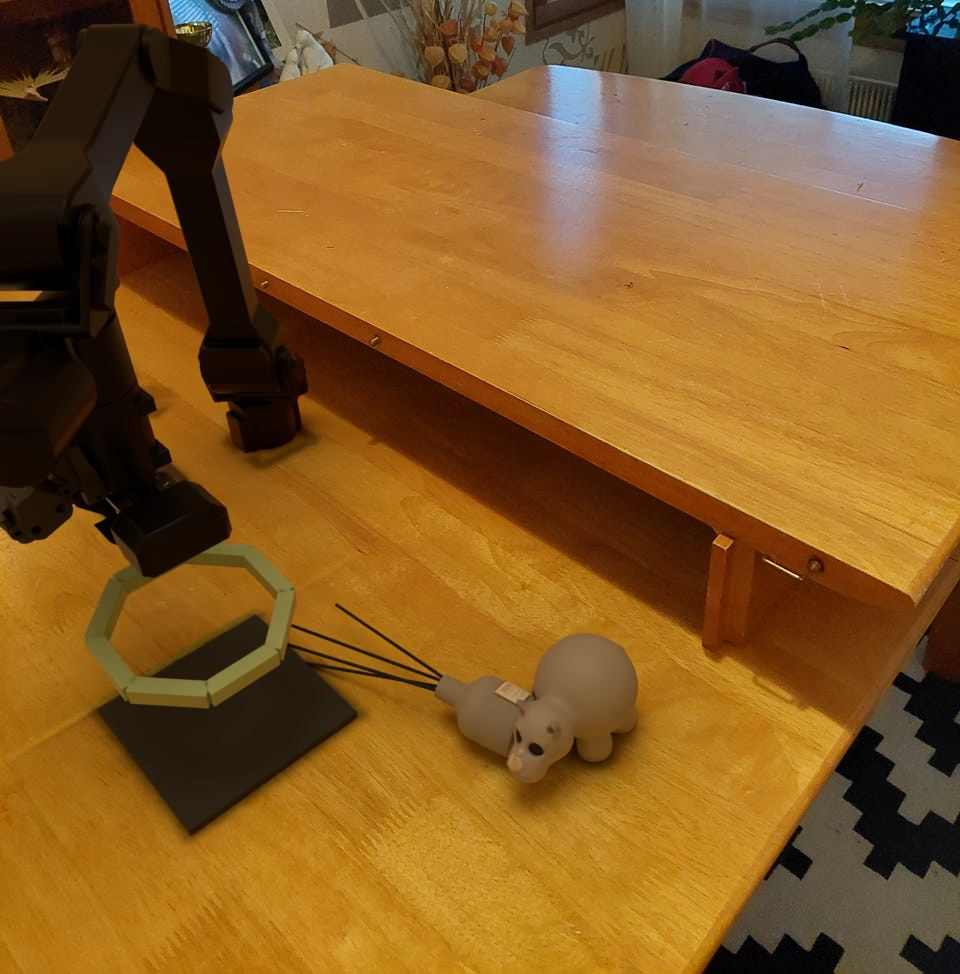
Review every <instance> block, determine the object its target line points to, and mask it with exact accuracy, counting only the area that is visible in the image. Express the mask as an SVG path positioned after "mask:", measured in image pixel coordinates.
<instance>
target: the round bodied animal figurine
mask: <svg viewBox="0 0 960 974" xmlns="http://www.w3.org/2000/svg"><path fill="white" fill-rule="evenodd" d="M533 680H534V681H533V683H534V691H535V696H536V700H534V701H531V702H529V703H526V702H525V701H523V700H520V699H519V700H517V701H516V704H517V707H518V713H517V715H516V716H515V719H514V722H513V733H514V744H513V747H512V749H511V751H510V753H509V756H508V758H507V760H506V767H508V769H509V771H510V773H511V775H512V776H513V778H514V779H516V780H517V781H519V782H522V783H524V784H533V783H536V782H539V781H540V780H541V779H543V778H544V776H545V775H546V773H547V771H548V769H549V767H550V766H551V765H552V764H554V763H555V762H557V761H559V760H560V759H562V758H564V757H565V756H566V755H567V754H568V753H569V752H570V751H571V749H572V747H573V745H574V741H575V748H576V750H577V753H578V754H579V756H580V757H581V758H582V759H583V760H585V761H587V762H592V763H598V762H601V761H604V760H607V759H608V758H609V756H610V755H611V753H612V750H613V737H612V733H614V734H626V733H628V732H630V731H632V730H633V729H634V727H635V726H636V723H637V722H638V721H637V720H638V712H637V707H636V704H637V703H636V702H637V699H638V695H639V694H638V693H639V682H638V675H637V671H636V668H635V666H634V663H633V662H632V660H631V658H630V656H629V655H628V654H627V652H626V650H625V648H624V646H622V645H620V644H618V643H616V642H615V641H613V640H612V639H610V638H607V637H606V636H604V635H601V634H596V633H590V632H589V633H588V632H580V633H574V634H570V635H566V636H565V637H562V638H561V639H559V640H557V641H556V642H554V643H553V644H552V645H550V646H549V647H548V648H547V649H546V651H545V652H544V653H543V654H542V656H541V658H540V660H539V661H538V664H537V667H536V670H535V672H534V678H533Z"/></svg>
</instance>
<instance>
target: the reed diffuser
mask: <svg viewBox="0 0 960 974" xmlns="http://www.w3.org/2000/svg"><path fill="white" fill-rule="evenodd" d="M334 607H335V608H337V609H339V610H340V611H342V612H343V613H344V614H346V615H347V616H349V617H351V618H352V619H353V620H354V621H356V622H357V623H359V624H361V625H363V627H365V628H366V629H368V630H370V631H371V632H373V633H374V634H375V635H377V636H378V637H380V638H381V639H383V640H384V641H386V642H387V643H388V644H390V645H392V646H393V647H395V648H396V649H397V650H399V651H400V652H402V653H403V654H405V655H406V656H408V657H409V658H410V659H412V660H413V661H414V662H415V663H418V664H419V665H421V666H422V667H424V668H425V669H427V670H428V671H430V672H431V673H432V674H434V675H432V674H430V673H427V672H424V671H422V670H419V669H416V668H413V667H411V666H408V665H406V664H402V663H400V662H398V661H394V660H392V659H389V658H386V657H384V656H382V655H378V654H376V653H374V652H373V653H372V652H370V651H367V650H364V649H362V648H359V647H356V646H355V645H351V644H349V643H347V642H344V641H341V640H338V639H334V638H332V637H330V636H326V635H323V634H321V633H318V632H316V631H313V630H311V629H307V628H305V627H303V626H299V625H297V624H294V623H292V625H291V629H295V630H298V631H301V632H303V633H306V634H308V635H312V636H314V637H317V638H319V639H322V640H325V641H328V642H330V643H334V644H335V645H338V646H341V647H345V648H346V649H349V650H352V651H354V652H358V653H360V654H362V655H366V656H367V657H371V658H374V659H377V660H379V661H382V662H385V663H386V664H390V665H392V666H396V667H398V668H401V669H404V670H406V671H408V672H411V673H414V674H417V675H419V676H422V677H425V678H427V679H429V680H433V681H436V682H438V683H431V682H426V681H419V680H413V679H409V678H403V677H400V676H397V675H394V674H391V673H387V672H384V671H381V670H378V669H374V668H371V667H368V666H366V665H365V666H364V665H361V664H358V663H355V662H352V661H349V660H345V659H342V658H339V657H336V656H332V655H329V654H326V653H323V652H319V651H316V650H313V649H310V648H306V647H303V646H300V645H296V644H293V643H289V642H288V643H287V647H290V648H291V649H293V650H297V651H299V652H300V651H301V652H303V653H307V654H309V655H310V654H311V655H312V656H313V655H314V656H317V657H320V658H323V659H326V660H330V661H333V662H336V663H340V664H342V665H345V666H349V667H352V668H356V669H351V668H347V667H340V666H334V665H328V664H323V663H318V662H313V661H312V662H311V661H305V662H306V663H307V664H308V665H309V666H310V667H316V668H322V669H328V670H333V671H338V672H344V673H348V674H349V673H350V674H354V675H360V676H365V677H371V678H378V679H384V680H389V681H394V682H401V683H405V684H408V685H410V686H411V685H412V686H415V687H417V688H421V689H424V690H427V691H431V692H434V695H433V696H434V698H436V699H437V700H439V701H441V702H443V703H445V704H447V705H448V706H450V707H452V708H453V709H454V710H455V715H456V722H457V726H458V729H459V731H460V733H461V734H462V735H463V736H465V737H466V738H467V739H468V740H470V741H473V742H474V743H476V744H478V745H480V746H482V747H484V748H486V749H488V750H490V751H492V752H495V753H497V754H499V755H501V756H503V757H505V758H507V759H508V756H509V753H510V751H511V749H512V747H513V744H514V733H513V722H514V719H515V716H516V715H517V713H518V707H517V704H516V701H517V700H519V699H520V700H523V701H525V702H526V703H529V702H531V701H534V700H536V696H535V691H534V682H533V684H532V687H531V692H529V691H527V690H525V689H524V688H521V687H520V686H518V685H516V684H514V683H512V682H510V681H508V680H507V679H505V680H504V679H502V678H500V677H498V676H494V675H484V676H481V677H479V678H477V679H474V680H473V681H471V682H469V683H465V682H464V681H461V680H459V679H457V678H455V677H453V676H451V675H449V674H446V673H445V674H442V673H441V672H439V671H437V670H436V669H435V668H433V667H432V666H430V665H428V664H427V663H426V662H425V661H422V660H421V659H420V658H418V657H417V656H416V655H414V654H412V653H411V652H409V651H408V650H406V649H405V648H404V647H402V646H400V644H398V643H397V642H395V641H393V640H392V639H391V638H389V637H388V636H386V635H384V634H383V633H382V632H380V631H379V630H377V629H376V628H374V627H372V626H371V625H370V624H368V623H367V622H365V621H364V620H362V619H361V618H359V617H358V616H356V615H355V614H354V613H352V612H351V611H350V610H348V609H346V608H345V607H343V606H342V605H340V604H338V602H336V603H335V604H334ZM357 669H360V670H357ZM435 675H436V676H435Z"/></svg>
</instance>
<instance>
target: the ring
mask: <svg viewBox="0 0 960 974" xmlns="http://www.w3.org/2000/svg"><path fill="white" fill-rule="evenodd" d="M184 565H195V566H209V567H211V566H212V567H223V568H224V567H226V568H240V569H246V571H247V572H248V573H249V574H250V575H251V576H252V577H253V578H254V579H255V580H256V581H257V582H258V584H260V585H261V586H262V588H264V590H265V591H267V593H268V594H269V595H270V596H271V597H272V598H273V599H274V600H275V602H274V607H273V610H272V614H271V618H270V622H269V625H268V626H269V630H268V634H267V638H266V642H265V644H264V645H263V646H261V647H260V648H258V649H256V650H255V651H253V652H252V653H250V654H248V655H247V656H245V657H244V658H242V659H240V660H239V661H237V662H236V663H234V664H232V665H231V666H229V667H228V668H226V669H224V670H223V671H221V672H220V673H218V674H216V675H215V676H213V677H211V678H210V679H208V680H207V681H198V680H183V679H167V678H151V677H152V676H149V677H148V676H137V675H136V674H135V673H134V672H133V670H132V669H131V667H129V665H128V663H126V661H125V660H124V659H123V658H122V656H121V655H120V653H119V652H118V651H117V650H116V648H115V647H114V646H113V644H112V643H111V639H112V636H113V633H114V632H115V631H114V630H115V629H116V627H117V624H118V620H119V618H120V616H121V613H122V611H123V608H124V606H125V604H126V601H127V598H128V596H129V595H130V594H132V593H134V592H136V591H138V590H140V589H142V588H143V587H145V586H147V585H148V584H151V583H153V582H155V581H156V580H158V579H160V578H162V577H165V575H167V574H169V573H171V572H173V571H174V570H177V569H178V568H180V567H182V566H184ZM297 603H298V601H297V595H296V590H295V586H294V585H293V584H292V583H291V582H290V581H289V580H288V578H287V577H286V576H284V574H282V573H281V572H280V570H278V569H277V568H276V566H275V565H273V563H272V562H270V560H269V559H268V558H267V557H265V555H264V554H263V553H262V552H261V551H260V550H259V549H258V548H257V547H256V546H251V544H249V543H238V542H237V543H236V542H235V543H233V542H221V543H219V544H217V545H215V546H213V547H211V548H210V549H208V550H206V551H204V552H202V553H200V554H198V555H197V556H195V557H193V558H191V559H189V560H187V561H185V562H184V563H182V564H180V565H178V566H176V567H174V568H172V569H171V570H169V571H167V572H165V573H163V574H161V575H159V576H158V577H155V578H150V577H143V576H142V575H141V574H140V573H139V572H138V571H137V570H136V569H135V568H134V567H133V565H132V564H129V565H128V566H126V567H124V568H122V569H120V570H118V571H117V572H115V573H112V577H109V578H108V579H107V581H106V584H105V587H103V590H102V593H101V596H100V598H99V600H98V602H97V605H96V607H95V610H94V612H93V613H92V617H91V619H90V621H89V623H88V625H87V628H86V630H85V633H84V635H83V637H84V639H85V640H84V643H85V646H86V648H87V651H88V653H89V654H90V656H91V657H92V659H93V660H94V661H95V663H96V664H97V665H98V666H99V668H100V670H101V671H102V672H103V674H104V675H105V676H106V677H107V679H108V680H109V681H110V683H111V684H112V685H113V686H114V688H115V689H116V691H117V692H118V693H119V694H120V695H121V696H122V697H123V698H124V700H125V701H127V700H129V701H130V703H131V704H146V705H162V706H178V707H194V708H209V706H210V703H212V705H213V706H216V705H218V704H220V703H221V702H223V701H224V700H226V699H227V698H229V697H230V696H232V695H234V694H235V693H237V692H238V691H240V690H241V689H243V688H244V687H246V686H248V685H249V684H251V683H252V682H254V681H255V680H257V679H258V678H260V677H262V676H263V675H265V674H266V673H268V672H269V671H271V670H272V669H274V668H276V667H277V666H279V665H280V660H284V656H285V651H286V647H287V643H289V638H290V634H291V629H292V627H291V625H292V624H293V620H294V616H295V612H296V607H297Z"/></svg>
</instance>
